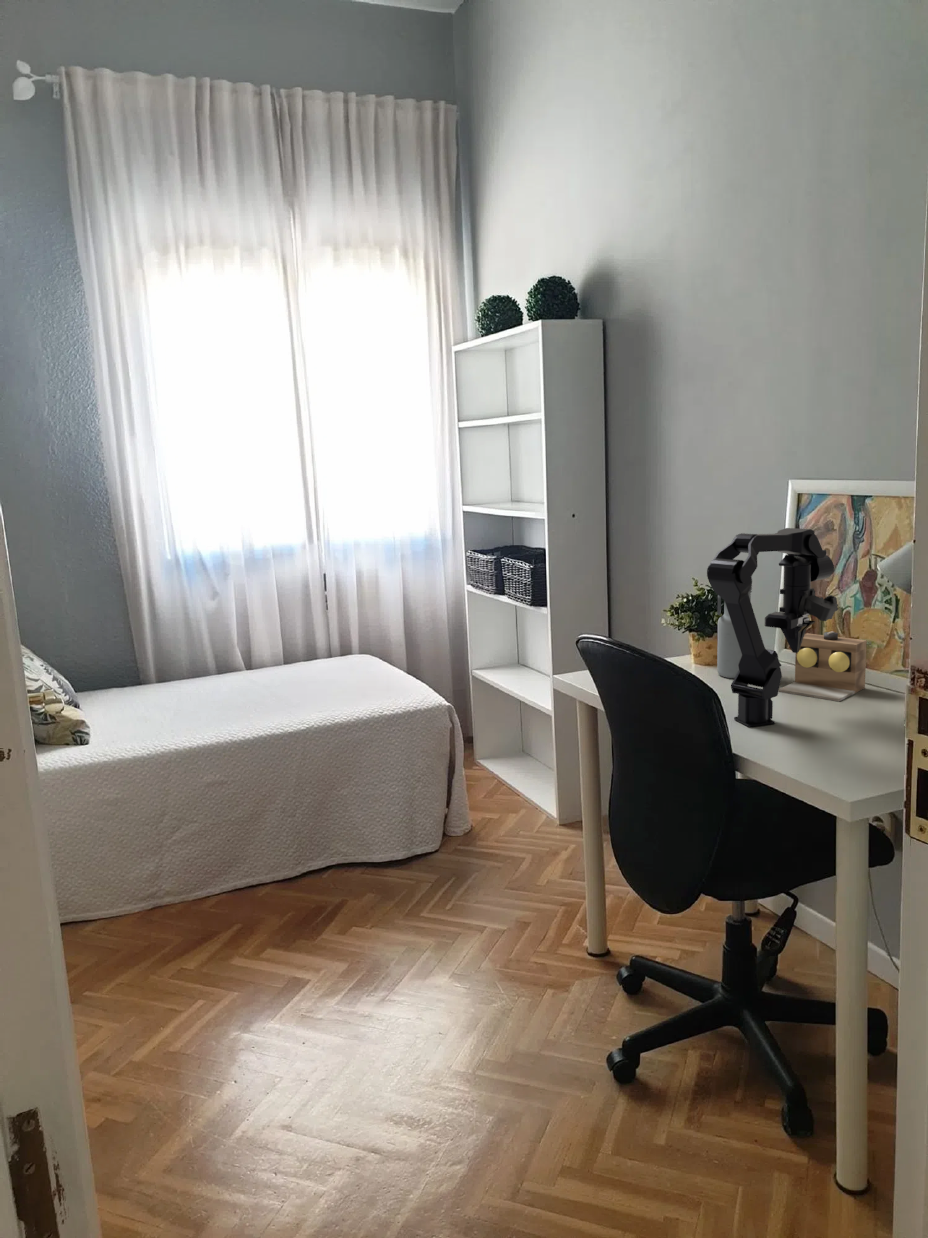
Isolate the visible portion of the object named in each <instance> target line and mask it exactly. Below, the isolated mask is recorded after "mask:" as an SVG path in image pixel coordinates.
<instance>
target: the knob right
mask: <svg viewBox="0 0 928 1238" xmlns="http://www.w3.org/2000/svg"><path fill="white" fill-rule="evenodd" d="M829 666H830V667H831V669H832V670H834V671H836V672H843V671H845V670H847V669H848V668H849V667H851V652H844V651H841V652H835V653H833V654H832V655H831V656H830V657H829Z"/></svg>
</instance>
